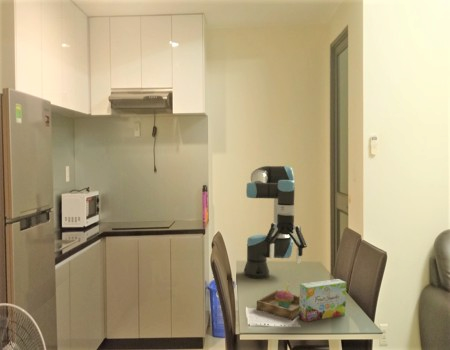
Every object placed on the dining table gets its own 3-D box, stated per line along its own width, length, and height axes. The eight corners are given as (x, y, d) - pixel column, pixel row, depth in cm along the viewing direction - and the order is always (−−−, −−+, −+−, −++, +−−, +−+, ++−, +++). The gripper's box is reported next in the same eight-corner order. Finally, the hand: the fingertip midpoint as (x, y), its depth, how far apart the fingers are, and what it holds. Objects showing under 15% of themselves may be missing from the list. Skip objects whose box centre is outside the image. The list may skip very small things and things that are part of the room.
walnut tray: (256, 309, 171) (256, 301, 171) (276, 298, 185) (276, 290, 185) (292, 320, 160) (292, 310, 160) (310, 307, 174) (310, 299, 174)
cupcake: (296, 306, 173) (297, 280, 173) (287, 312, 167) (288, 285, 166) (280, 301, 179) (281, 276, 178) (270, 306, 172) (271, 280, 172)
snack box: (306, 322, 158) (306, 287, 157) (298, 317, 163) (299, 283, 162) (346, 315, 166) (346, 281, 166) (337, 310, 171) (338, 277, 171)
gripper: (257, 212, 176) (257, 257, 177) (307, 217, 161) (306, 267, 161) (266, 210, 182) (265, 254, 182) (314, 215, 166) (313, 263, 167)
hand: (284, 260), depth 172 cm, fingers open, 13 cm apart
